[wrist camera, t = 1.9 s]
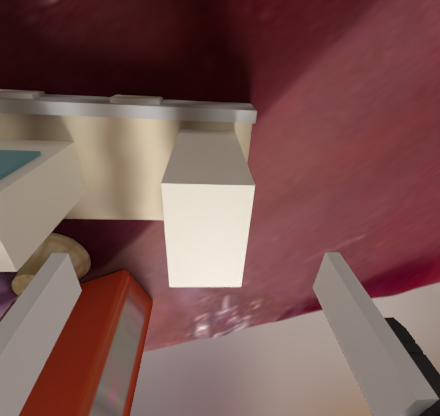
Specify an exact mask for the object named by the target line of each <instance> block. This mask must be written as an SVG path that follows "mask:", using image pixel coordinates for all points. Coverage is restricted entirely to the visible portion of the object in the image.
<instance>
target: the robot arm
mask: <svg viewBox="0 0 440 416" xmlns="http://www.w3.org/2000/svg"><path fill="white" fill-rule="evenodd" d="M313 290H314V292H315V294H316V296H317V298H318V300H319V302H320V304H321V307H322V309H323V311H324V313H325V315H326V317H327V319H328V322H329V324H330V326H331V328H332V330H333V332H334V334H335V336H336V339H337V341H338V343H339V345H340V347H341V349H342V351H343V354H344V356H345V358H346V360H347V362H348V364H349V366H350V369H351V371H352V373H353V375H354V377H355V379H356V381H357V383H358V386H359V387H360V390H361V392H362V394H363V396H364V398H365V400H366V403H367V405H368V407H369V409H370V411H371V413H372V415H373V416H440V374H439V373H438V372H437V370H436V369H435V367H434V366H433V365H432V363H431V362H430V361H429V359H428V358H427V357H426V355H424V354H423V351H422V350H421V348H420V347H419V346H418V345H417V344H416V343H415V340H414V339H413V338H412V336H411V335H410V334H409V332H408V331H407V330H406V328H404V327H403V326H402V325H401V324H400V323H399V322H398V321H396V320H395V319H394V318H384V317H383V316H382V314H381V313H380V311H379V310H378V308H377V307H376V306H375V304H374V303H373V301H372V300H371V298H370V297H369V295H368V294H367V292H366V291H365V289H364V288H363V287H362V285H361V284H360V282H359V281H358V279H357V278H356V276H355V275H354V273H353V272H352V270H351V269H350V268H349V266H348V265H347V263H346V262H345V260H344V259H343V257H342V256H341V254H340V253H339V252H325V255H324V258H323V260H322V263H321V266H320V269H319V271H318V274H317V277H316V280H315V282H314V285H313ZM81 292H82V290H81V287H80V284H79V281H78V279H77V276H76V273H75V270H74V268H73V265H72V262H71V259H70V257H69V254H68V253H52V254H51V255H50V257H49V258H48V259H47V261H46V262H45V263H44V265H43V266H42V267H41V269H40V270H39V271H38V273H37V274H36V275H35V277H34V278H33V279H32V281H31V282H30V283H29V284H28V286H27V287H26V288H25V290H24V291H23V292H22V294H21V295H20V296H19V298H18V299H17V300H16V302H15V303H14V304H13V306H12V307H11V308H10V310H9V311H8V312H7V314H6V315H5V316H4V318H3V319H2V320H1V322H0V416H19V414H20V412H21V410H22V408H23V406H24V404H25V402H26V400H27V398H28V396H29V394H30V392H31V390H32V388H33V386H34V384H35V382H36V381H37V379H38V377H39V375H40V373H41V371H42V369H43V367H44V365H45V363H46V361H47V359H48V357H49V355H50V353H51V351H52V349H53V347H54V345H55V343H56V341H57V339H58V337H59V335H60V333H61V331H62V329H63V327H64V325H65V323H66V321H67V319H68V317H69V315H70V313H71V311H72V309H73V307H74V306H75V304H76V302H77V300H78V298H79V296H80V294H81Z"/></svg>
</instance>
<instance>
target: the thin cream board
mask: <svg viewBox="0 0 440 416" xmlns="http://www.w3.org/2000/svg"><path fill="white" fill-rule="evenodd" d="M256 115H257V110H256V109H255V108H254V107H253V106H252V105H251V104H250V103H229V102H207V101H185V100H164V99H163V97H155V96H134V95H114V96H112V97H99V96H77V95H55V94H45V93H44V91H27V90H5V89H0V139H8V140H37V141H66V142H75V145H76V149H77V153H78V157H79V161H80V164H81V168H82V172H83V176H84V180H85V184H86V187H87V192H86V193H85V194H84V195H83V196H82V197H81V199H80V200H79V201H78V202H77V203H76V204H75V206H74V207H73V208H72V209H71V210H70V211H69V212H68V214H67V215H66V216H65V217H64V218H63V219H118V220H164V218H163V206H162V194H161V182H162V179H163V176H164V173H165V170H166V167H167V164H168V161H169V159H170V156H171V153H172V150H173V147H174V144H175V141H176V138H177V135H178V133H179V130H180V129H193V130H219V131H235V133H236V135H237V138H238V141H239V143H240V146H241V149H242V151H243V154H244V157H245V159H246V162H247V164H248V155H249V147H250V138H251V129H252V123H256Z"/></svg>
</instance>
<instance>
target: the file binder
mask: <svg viewBox="0 0 440 416" xmlns="http://www.w3.org/2000/svg"><path fill="white" fill-rule="evenodd" d="M80 287H81V290H82V292H81V294H80V296H79V298H78V300H77V302H76V304H75V306H74V307H73V309H72V311H71V313H70V315H69V317H68V319H67V321H66V323H65V325H64V327H63V329H62V331H61V333H60V335H59V337H58V339H57V341H56V343H55V345H54V347H53V349H52V351H51V353H50V355H49V357H48V359H47V361H46V363H45V365H44V367H43V369H42V371H41V373H40V375H39V377H38V379H37V381H36V382H35V384H34V386H33V388H32V390H31V392H30V394H29V396H28V398H27V400H26V402H25V404H24V406H23V408H22V410H21V412H20V414H19V416H130V412H131V407H132V402H133V397H134V392H135V388H136V382H137V378H138V373H139V368H140V363H141V358H142V354H143V349H144V344H145V339H146V334H147V329H148V324H149V319H150V315H151V310H152V305H153V303H152V302H153V301H152V299H151V298H150V297H149V296H148V295H147V293H146V292H145V291H144V290H143V289H142V288H141V286H140V285H139V284H138V283H137V282H136V280H135V279H134V278H133V277H132V276H131V274H130V273H129V272H128V271H127V270H125V269H124V270H121V271H118V272H115V273H112V274H108V275H105V276H102V277H99V278H96V279H93V280H90V281H87V282H84V283H81V284H80Z"/></svg>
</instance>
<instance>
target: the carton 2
mask: <svg viewBox="0 0 440 416" xmlns="http://www.w3.org/2000/svg"><path fill="white" fill-rule="evenodd" d="M254 191H255V184H254V181H253V178H252V176H251V173H250V170H249V167H248V165H247V162H246V159H245V157H244V154H243V151H242V149H241V146H240V143H239V141H238V138H237V135H236V133H235V131H219V130H193V129H180V130H179V133H178V135H177V138H176V141H175V144H174V147H173V150H172V153H171V156H170V159H169V161H168V164H167V167H166V170H165V173H164V176H163V179H162V182H161V194H162V206H163V218H164V229H165V241H166V253H167V262H168V274H169V286H170V287H241V284H242V277H243V270H244V262H245V255H246V248H247V241H248V234H249V227H250V219H251V212H252V205H253V198H254Z"/></svg>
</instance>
